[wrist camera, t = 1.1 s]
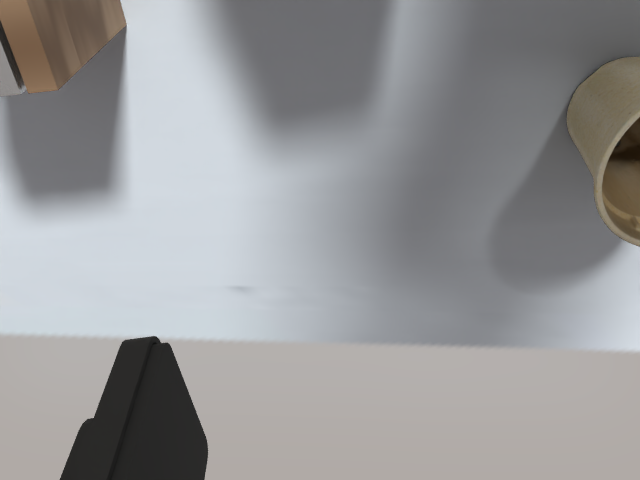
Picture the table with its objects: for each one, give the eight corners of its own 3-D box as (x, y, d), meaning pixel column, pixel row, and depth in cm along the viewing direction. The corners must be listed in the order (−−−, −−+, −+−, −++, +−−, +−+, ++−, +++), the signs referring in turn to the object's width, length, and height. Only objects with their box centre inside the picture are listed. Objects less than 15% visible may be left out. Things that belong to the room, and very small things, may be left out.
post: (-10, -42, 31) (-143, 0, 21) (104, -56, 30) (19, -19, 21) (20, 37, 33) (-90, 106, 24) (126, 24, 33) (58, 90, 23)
